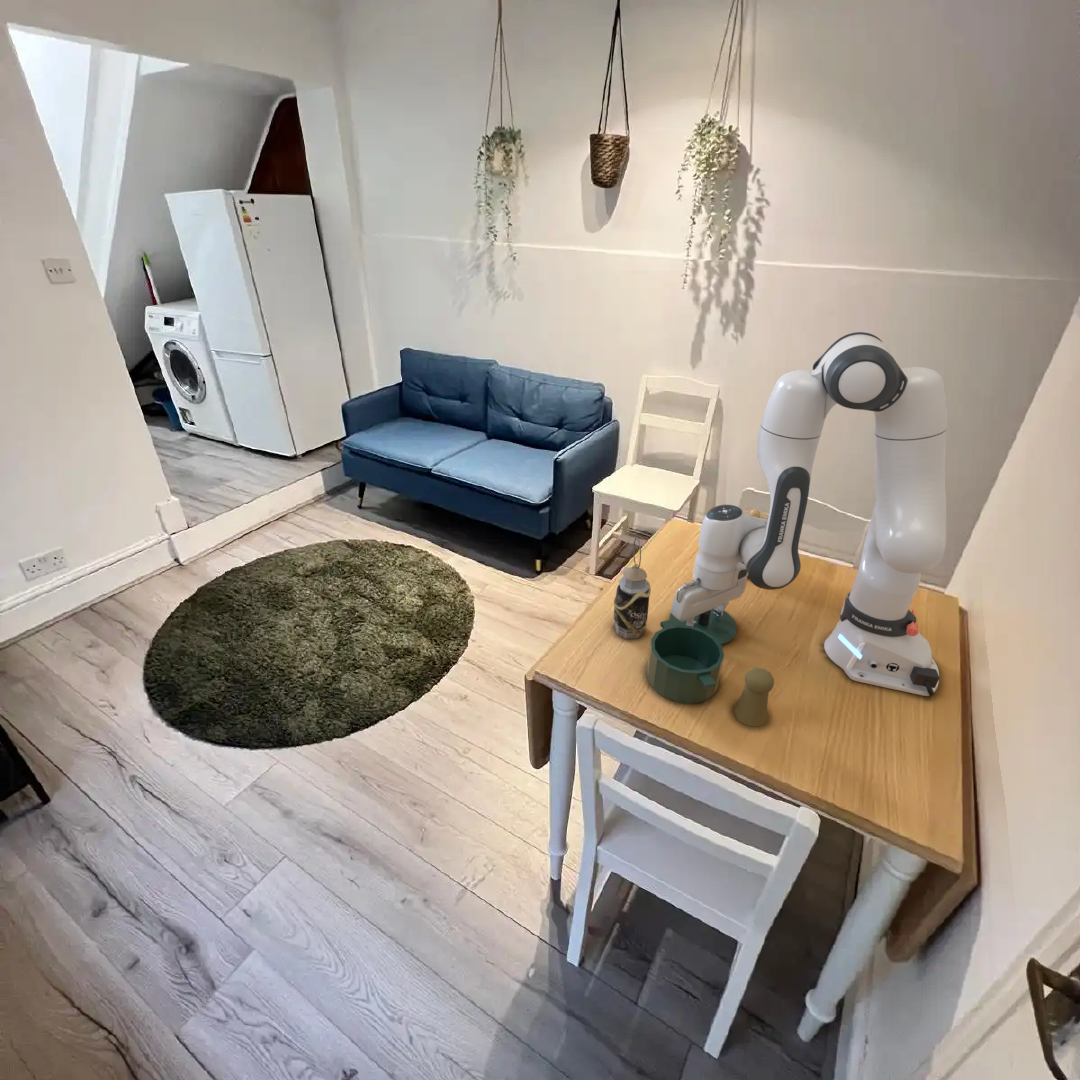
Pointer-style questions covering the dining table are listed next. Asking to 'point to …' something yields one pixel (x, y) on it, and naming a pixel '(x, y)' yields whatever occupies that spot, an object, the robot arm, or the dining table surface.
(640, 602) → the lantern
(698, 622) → the lid
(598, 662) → the dining table surface
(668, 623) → the pot
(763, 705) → the tan game pawn
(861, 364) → the robot arm
